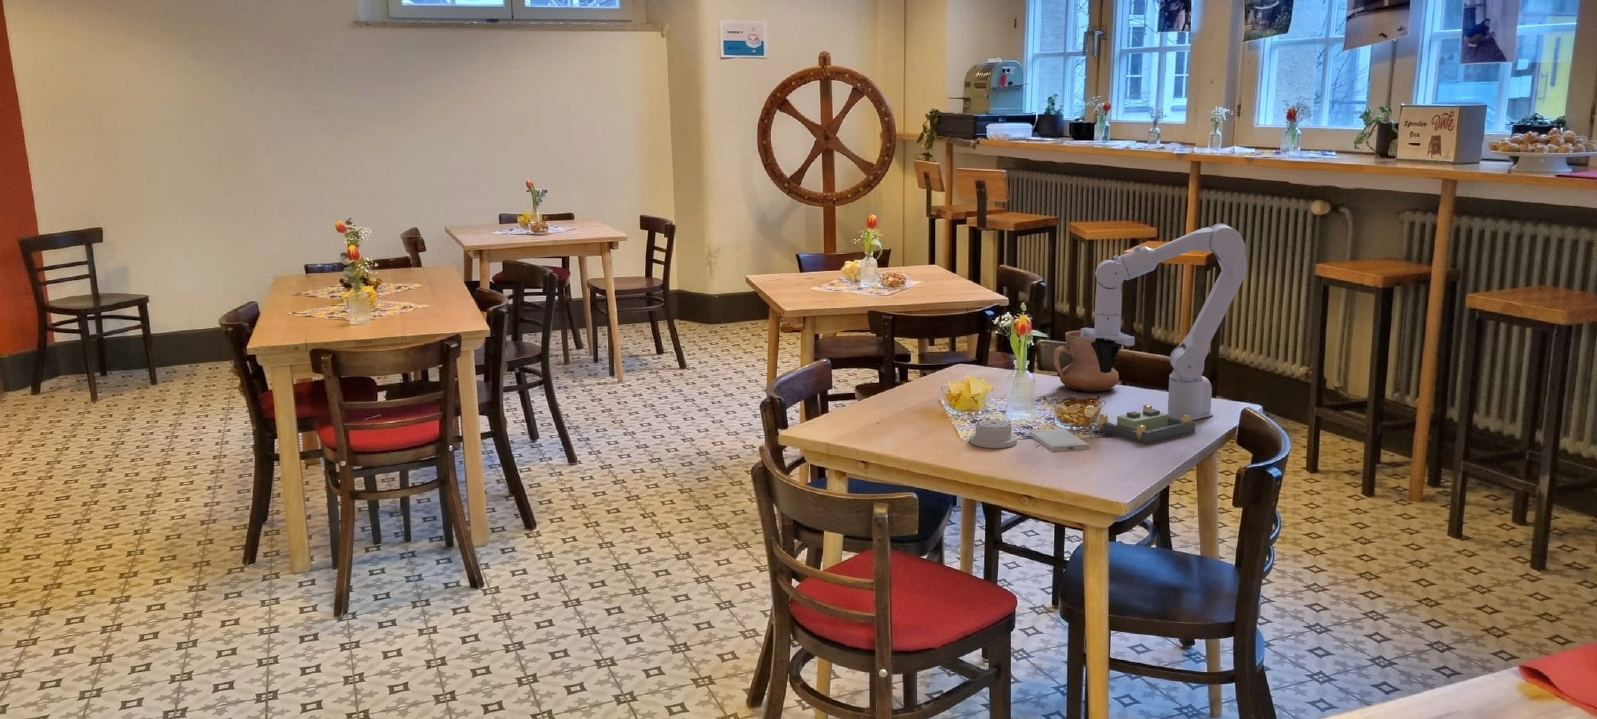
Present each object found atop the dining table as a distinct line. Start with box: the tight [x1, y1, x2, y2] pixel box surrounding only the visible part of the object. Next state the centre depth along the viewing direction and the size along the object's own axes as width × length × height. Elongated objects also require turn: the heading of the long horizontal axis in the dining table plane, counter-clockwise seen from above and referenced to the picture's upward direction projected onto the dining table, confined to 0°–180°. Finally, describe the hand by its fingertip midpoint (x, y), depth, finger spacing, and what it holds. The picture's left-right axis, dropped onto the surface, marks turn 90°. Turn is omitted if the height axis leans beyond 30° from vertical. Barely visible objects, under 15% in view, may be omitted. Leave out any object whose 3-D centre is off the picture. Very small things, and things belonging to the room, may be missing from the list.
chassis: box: [1098, 404, 1196, 446], centre depth 252 cm, size 16×14×4 cm
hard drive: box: [1029, 428, 1090, 452], centre depth 246 cm, size 2×8×12 cm
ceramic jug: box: [1052, 329, 1124, 393], centre depth 291 cm, size 18×14×14 cm
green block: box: [1116, 408, 1168, 431], centre depth 252 cm, size 10×5×5 cm, turn 120°
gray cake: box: [969, 418, 1018, 449], centre depth 246 cm, size 10×4×10 cm
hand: (1105, 372), depth 266 cm, fingers closed
